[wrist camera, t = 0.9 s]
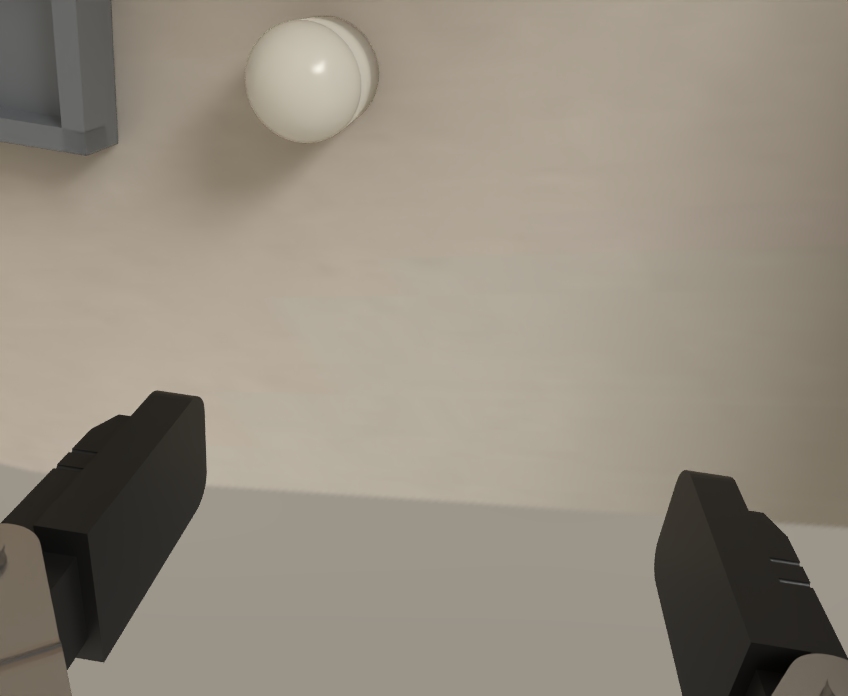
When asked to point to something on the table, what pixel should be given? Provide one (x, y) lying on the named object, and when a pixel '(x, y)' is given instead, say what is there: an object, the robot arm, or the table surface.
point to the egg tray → (57, 75)
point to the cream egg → (311, 77)
